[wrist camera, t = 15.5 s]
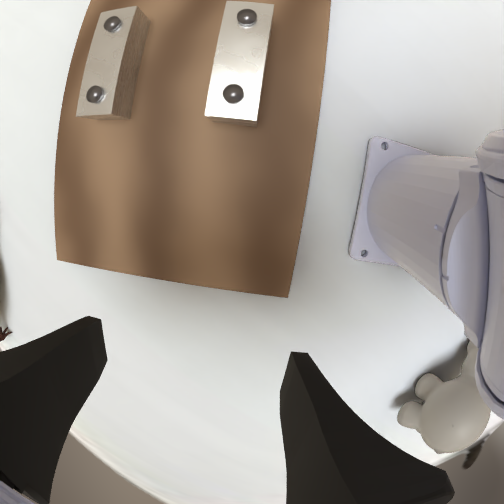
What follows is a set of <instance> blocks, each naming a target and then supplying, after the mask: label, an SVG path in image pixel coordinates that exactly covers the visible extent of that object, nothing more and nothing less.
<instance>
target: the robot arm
mask: <svg viewBox="0 0 504 504" xmlns="http://www.w3.org/2000/svg"><path fill="white" fill-rule="evenodd" d="M383 142H384V143H385V144H386V149H385V150H383V149H382V147H381V145H382V143H383ZM476 156H477V158H472V157H457V156H437V155H434V154H431V153H428V152H425V151H423V150H420V149H417V148H414V147H411V146H408V145H405V144H402V143H399V142H396V141H392V140H389V139H386V138H382V137H379V136H375V137H372V138H371V139H370V140H369V145H368V152H367V158H366V165H365V171H364V177H363V183H362V189H361V194H360V200H359V205H358V210H357V215H356V220H355V225H354V229H353V234H352V239H351V243H350V247H349V255H350V256H351V257H352V258H353V259H355V260H361V261H368V262H375V263H382V264H389V265H396V266H401V267H402V268H403V269H405V270H406V271H407V272H408V273H409V274H411V275H412V276H413V277H414V278H415V279H416V280H418V281H419V282H420V283H421V284H422V285H423V286H424V287H426V288H427V289H428V290H429V291H430V292H431V293H432V294H433V295H435V296H436V297H437V298H438V299H439V300H440V301H441V302H442V303H443V304H444V305H446V306H447V307H448V308H449V309H450V310H451V311H452V312H453V313H454V314H455V315H456V316H457V317H458V318H459V319H460V320H462V322H463V324H464V328H465V331H464V334H465V335H466V336H467V337H468V339H469V340H470V341H471V342H472V343H473V344H474V345H475V346H476V347H477V348H479V350H478V352H477V358H476V363H475V380H476V386H477V388H478V391H479V394H480V396H481V397H482V399H483V401H484V403H485V404H486V405H487V406H488V407H489V408H490V410H491V411H493V412H494V413H495V414H496V415H497V416H499V417H500V418H502V419H504V129H503V130H498V131H494V132H491V133H489V134H488V135H487V137H486V138H485V140H484V142H483V144H482V145H481V146H479V147H478V149H477V150H476ZM363 250H366V253H365V255H362V256H361V252H362V251H363ZM106 362H107V354H106V349H105V343H104V337H103V330H102V323H101V319H98V318H94V317H91V316H87V317H84V318H81V319H79V320H77V321H75V322H72V323H70V324H68V325H66V326H64V327H62V328H60V329H58V330H56V331H53V332H51V333H49V334H47V335H45V336H43V337H40V338H38V339H36V340H33V341H31V342H28V343H26V344H24V345H21V346H18V347H15V348H12V349H9V350H6V351H2V352H0V504H34V503H33V502H31V501H30V500H28V499H26V498H25V497H23V496H22V495H20V494H19V493H21V494H22V493H23V494H24V495H26V496H27V497H29V498H30V499H32V500H34V501H35V502H37V503H39V504H49V501H50V494H51V488H52V482H53V478H54V474H55V470H56V466H57V463H58V459H59V456H60V453H61V451H62V448H63V445H64V442H65V440H66V437H67V435H68V432H69V430H70V428H71V425H72V424H73V422H74V420H75V418H76V416H77V415H78V413H79V411H80V410H81V408H82V406H83V405H84V403H85V401H86V400H87V398H88V397H89V395H90V393H91V392H92V390H93V388H94V387H95V385H96V384H97V382H98V380H99V378H100V376H101V374H102V372H103V369H104V367H105V365H106ZM280 419H281V427H282V435H283V443H284V451H285V458H286V469H287V498H286V504H447V503H448V502H449V501H450V500H451V499H452V498H453V496H454V493H455V492H454V489H453V487H452V485H451V482H450V480H449V478H448V475H447V473H446V471H444V470H442V469H439V468H437V467H435V466H432V465H430V464H428V463H425V462H423V461H421V460H419V459H417V458H415V457H413V456H411V455H410V454H408V453H406V452H404V451H403V450H401V449H399V448H398V447H396V446H395V445H393V444H392V443H390V442H389V441H388V440H386V439H385V438H383V437H382V436H381V435H379V434H378V433H377V432H376V431H374V430H373V429H372V428H371V427H370V426H368V425H367V424H366V423H365V422H364V421H363V420H362V419H361V418H360V417H359V416H358V415H357V414H356V413H354V412H353V410H352V409H351V408H350V407H349V406H348V405H347V404H346V403H345V402H344V401H343V400H342V398H341V397H340V396H339V395H338V394H337V392H336V391H335V390H334V389H333V387H332V386H331V385H330V383H329V382H328V381H327V379H326V378H325V377H324V375H323V374H322V373H321V371H320V370H319V368H318V367H317V366H316V364H315V363H314V361H313V360H312V358H311V357H310V356H309V354H308V353H301V352H291V354H290V357H289V361H288V365H287V368H286V372H285V375H284V379H283V382H282V386H281V389H280ZM13 488H14V489H15V490H17V491H18V492H19V493H17V492H15V491H14V490H13Z"/></svg>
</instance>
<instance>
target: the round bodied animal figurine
mask: <svg viewBox="0 0 504 504" xmlns="http://www.w3.org/2000/svg"><path fill="white" fill-rule="evenodd" d="M478 350H479V348H477V347H476V346H475V345H474V344H473V343H472V342H471V341H469V343H468V346H467V357H466V359H465V361H464V362H463V365H462V368H461V375H460V376H459V377H458V378H456V379H452V380H449V381H447V382H443V381H442V380H441V379H439V378H438V377H437V376H435V375H434V374H431V373H427V374H425V375H423V376H422V377H421V378H420V379H419V381H418V382H417V384H416V388H415V394H416V396H417V397H419V398H420V399H422V400H424V401H423V402H422V404H419V403H418V402H415V401H409V402H407V403H405V404H404V405H403V406H402V407H401V408H400V410H399V413H398V416H397V421H398V423H399V424H401V425H402V426H404V427H407V428H412V429H416V430H417V431H418V432H419V433H420V434H421V436H422V438H423V440H424V441H425V443H426V444H427V445H428V446H429V447H430V448H432V449H434V451H435V452H436V453H438V454H441V453H452V452H457V451H460V450H463V449H464V448H466V447H468V446H470V445H471V444H472V443H474V442H475V441H476V440H477V439H478V438H479V437H480V435H481V434H482V433H483V431H484V429H485V428H486V426H487V423H488V421H489V417H490V412H491V410H490V408H489V407H488V406H487V405H486V404H485V403H484V401H483V399H482V397H481V396H480V394H479V391H478V388H477V386H476V380H475V363H476V358H477V352H478Z"/></svg>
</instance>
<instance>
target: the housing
mask: <svg viewBox="0 0 504 504" xmlns="http://www.w3.org/2000/svg"><path fill="white" fill-rule="evenodd" d="M273 11H274V4H266V3H256V2H243V1H226V6H225V10H224V14H223V19H222V23H221V28H220V33H219V37H218V42H217V47H216V52H215V58H214V63H213V68H212V74H211V79H210V85H209V91H208V97H207V104H206V110H205V116H206V117H207V118H208V119H209V120H211V121H212V122H216V123H227V124H237V125H245V126H253V127H257V121H258V114H259V107H260V101H261V94H262V87H263V81H264V74H265V67H266V61H267V54H268V48H269V41H270V35H271V29H272V22H273ZM150 23H151V21H150V20H149V19H148V18H147V16H146V15H145V14H144V13H143V12H142V11H141V10H140V9H139V7H138V6H132V7H126V8H120V9H115V10H110V11H106V12H101V14H100V17H99V20H98V23H97V26H96V29H95V33H94V36H93V39H92V43H91V46H90V50H89V54H88V57H87V61H86V66H85V70H84V74H83V79H82V84H81V89H80V94H79V100H78V105H77V112H76V117H82V118H88V119H93V120H115V119H130V117H131V110H132V104H133V98H134V93H135V87H136V82H137V77H138V72H139V67H140V63H141V58H142V54H143V50H144V46H145V42H146V38H147V34H148V30H149V27H150Z"/></svg>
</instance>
